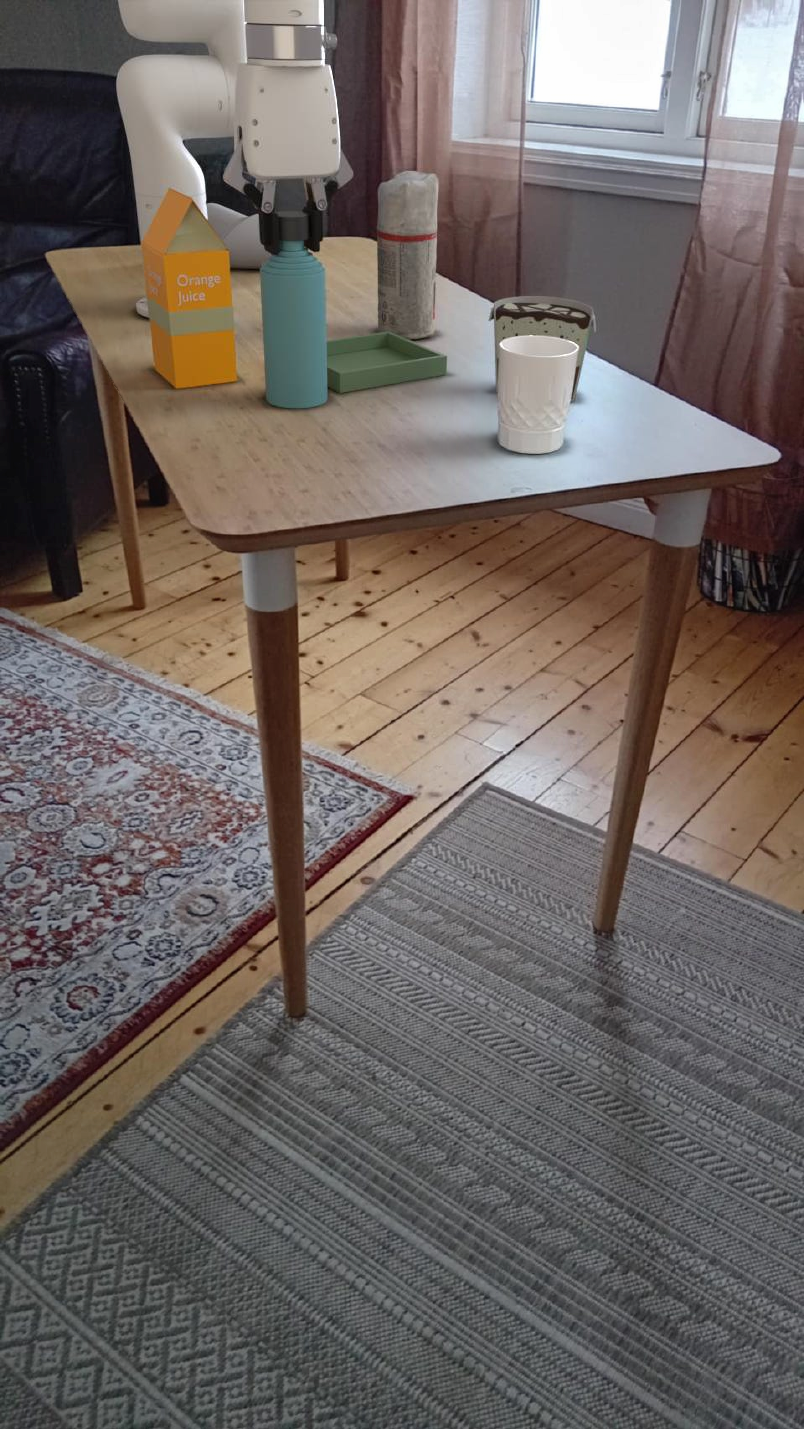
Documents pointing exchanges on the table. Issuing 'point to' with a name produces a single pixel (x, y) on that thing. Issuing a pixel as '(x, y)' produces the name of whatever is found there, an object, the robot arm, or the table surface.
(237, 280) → the table surface
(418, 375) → the tray
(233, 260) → the bent grey cylinder
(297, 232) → the cap
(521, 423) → the white cup
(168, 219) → the orange juice
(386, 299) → the spray can
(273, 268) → the bottle
